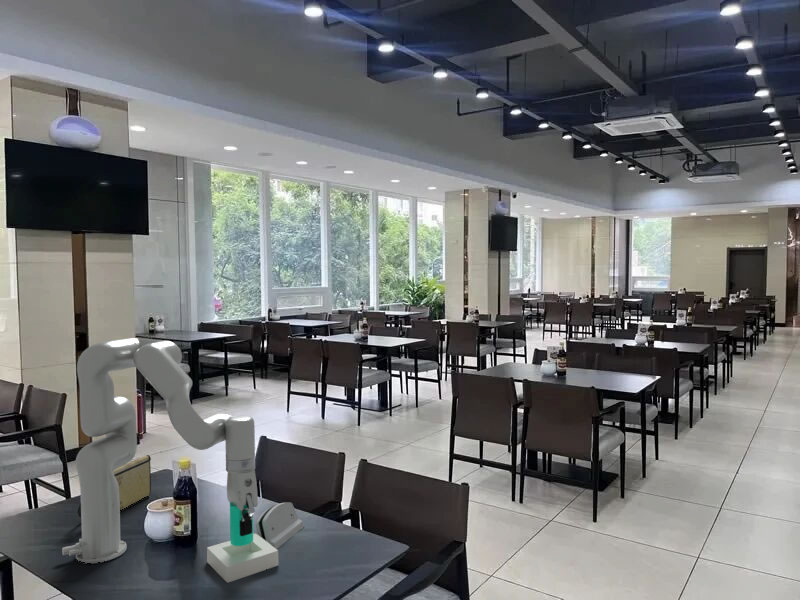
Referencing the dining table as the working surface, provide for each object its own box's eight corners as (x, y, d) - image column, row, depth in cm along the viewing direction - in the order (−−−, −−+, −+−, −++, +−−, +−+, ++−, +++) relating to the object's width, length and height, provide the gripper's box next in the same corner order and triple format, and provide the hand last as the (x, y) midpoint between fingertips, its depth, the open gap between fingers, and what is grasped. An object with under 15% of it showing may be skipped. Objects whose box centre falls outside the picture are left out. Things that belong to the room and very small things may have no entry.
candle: (232, 536, 156) (232, 492, 156) (255, 535, 156) (254, 492, 156) (228, 546, 150) (227, 501, 150) (251, 545, 150) (250, 500, 150)
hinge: (275, 550, 161) (264, 515, 162) (261, 553, 163) (251, 519, 164) (305, 526, 177) (294, 494, 178) (292, 529, 178) (282, 498, 179)
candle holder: (227, 582, 143) (227, 567, 143) (207, 562, 154) (206, 547, 154) (278, 565, 152) (278, 550, 152) (255, 546, 163) (255, 533, 163)
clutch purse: (138, 493, 207) (137, 452, 206) (154, 495, 205) (153, 453, 204) (71, 527, 178) (70, 479, 177) (90, 530, 176) (88, 481, 176)
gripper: (267, 468, 148) (268, 537, 149) (241, 453, 162) (242, 517, 162) (240, 474, 144) (241, 546, 144) (214, 458, 157) (216, 524, 157)
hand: (241, 530), depth 153 cm, fingers closed on candle, 4 cm apart
